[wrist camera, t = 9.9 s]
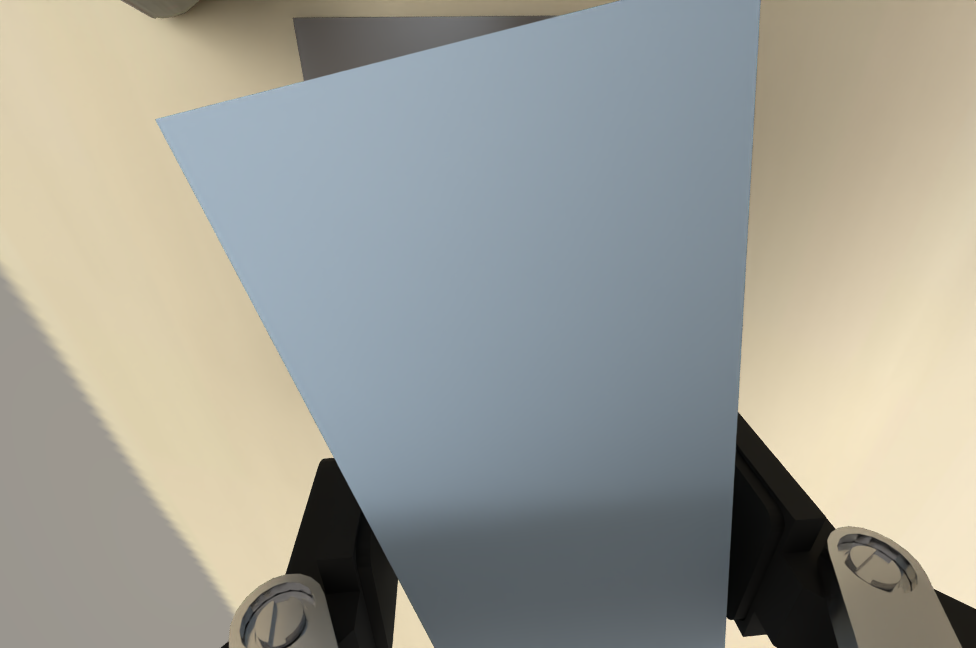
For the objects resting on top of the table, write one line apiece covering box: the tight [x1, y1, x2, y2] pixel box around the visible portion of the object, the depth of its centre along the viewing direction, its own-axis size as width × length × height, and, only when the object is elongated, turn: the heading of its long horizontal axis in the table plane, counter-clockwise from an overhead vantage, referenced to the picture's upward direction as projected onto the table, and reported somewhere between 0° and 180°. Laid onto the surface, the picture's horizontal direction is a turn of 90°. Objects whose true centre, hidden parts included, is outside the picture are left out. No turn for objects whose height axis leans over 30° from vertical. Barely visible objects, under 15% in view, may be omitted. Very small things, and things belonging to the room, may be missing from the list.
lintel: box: [155, 0, 761, 648], centre depth 11 cm, size 5×16×7 cm, turn 12°
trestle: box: [293, 16, 557, 81], centre depth 17 cm, size 12×18×6 cm, turn 1°
